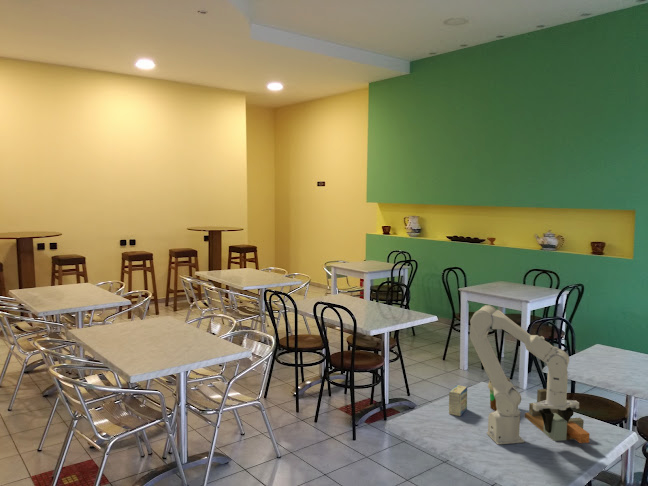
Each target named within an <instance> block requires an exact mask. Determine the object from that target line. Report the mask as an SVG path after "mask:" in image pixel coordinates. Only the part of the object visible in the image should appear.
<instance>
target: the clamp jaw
mask: <svg viewBox="0 0 648 486" xmlns="http://www.w3.org/2000/svg"><path fill="white" fill-rule="evenodd" d="M584 421H585V420H584V419H583V418H582V417H571V418H570V419H569V421H568V423H567V434H569V435H570V436H571V437H573V438H574V439H573V440H575V441H576V442H578V443H580V444H588V443H590V432H588V431H587V430H585V429H584V424H585V423H584Z"/></svg>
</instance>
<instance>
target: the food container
mask: <svg viewBox="0 0 648 486" xmlns="http://www.w3.org/2000/svg"><path fill="white" fill-rule="evenodd" d="M506 378H507V380H508V381H509V382H511V380H510V377H506ZM487 388H488V389H489V401H490V402H489V403H490V406H489V407H490V409H491V410H492V411H493V412H495V411H496V410H497V408H496V399H495V397H494V390H493V386H492V383H491V381H490V380H489V381H488V383H487Z"/></svg>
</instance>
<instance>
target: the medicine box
mask: <svg viewBox="0 0 648 486" xmlns="http://www.w3.org/2000/svg"><path fill="white" fill-rule="evenodd" d="M467 409H468V386H464V385H459V384H457V385H455V386H454V387H453V388H451V390H449V391H448V414H449V415H451V416H456V417H461V416H462V415H463V414H464V413H465V412H466V410H467Z"/></svg>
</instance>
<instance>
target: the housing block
mask: <svg viewBox="0 0 648 486" xmlns="http://www.w3.org/2000/svg"><path fill="white" fill-rule="evenodd" d="M553 414H554V417H553V420H552V429H551V433H548V432H547V431H546V430H545V426H544V430H543V431H542V433H544V434H545V435H546V434H547V435H548V436H547V435H546V436H547V437H549V438H550V439H551V440H552V439H553V440H554V441H555V442H557V441H567V440H566V435H567V421H566V420H565V419H563V418H562V417H560V416H559V415H558V414H556V413H553ZM553 440H552V441H553Z"/></svg>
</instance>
